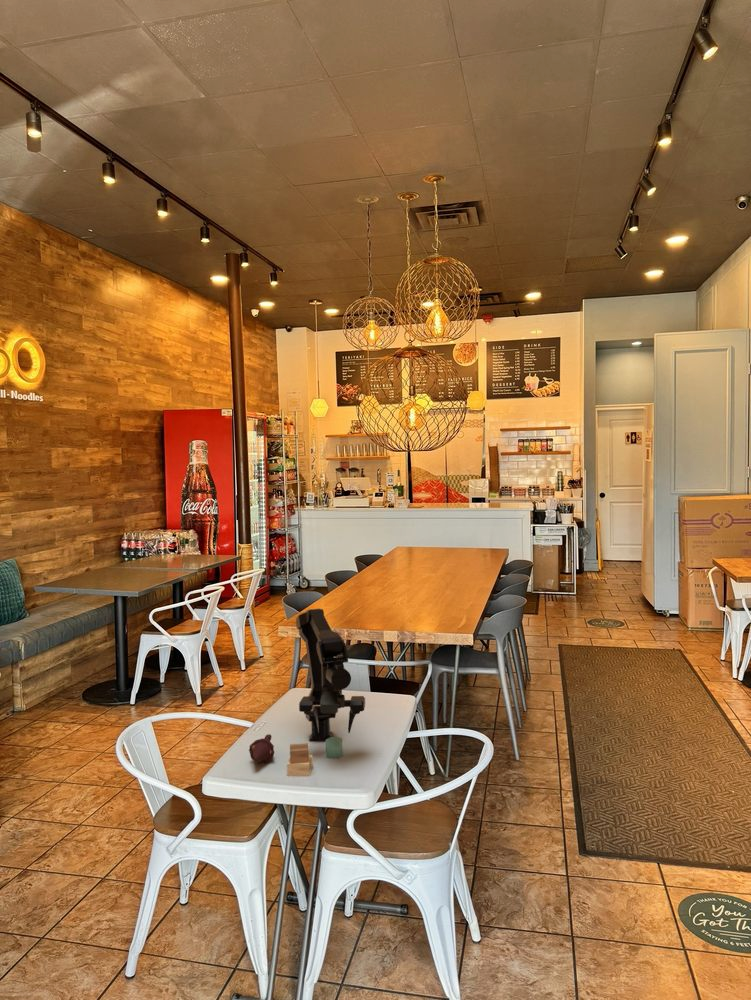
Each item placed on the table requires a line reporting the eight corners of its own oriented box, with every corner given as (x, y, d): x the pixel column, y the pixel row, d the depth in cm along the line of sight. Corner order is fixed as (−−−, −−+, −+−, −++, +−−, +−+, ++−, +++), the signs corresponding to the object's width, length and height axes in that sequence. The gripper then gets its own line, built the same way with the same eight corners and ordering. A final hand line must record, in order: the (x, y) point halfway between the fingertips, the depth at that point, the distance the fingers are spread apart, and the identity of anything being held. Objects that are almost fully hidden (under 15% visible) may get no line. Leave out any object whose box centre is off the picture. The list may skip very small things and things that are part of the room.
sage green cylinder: (327, 752, 207) (326, 737, 207) (343, 752, 206) (343, 737, 206) (325, 758, 202) (324, 743, 202) (341, 758, 202) (341, 743, 201)
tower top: (290, 756, 196) (289, 744, 196) (308, 755, 196) (307, 743, 196) (290, 763, 191) (289, 751, 191) (308, 762, 191) (308, 749, 191)
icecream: (270, 750, 193) (282, 734, 208) (245, 743, 194) (259, 728, 209) (265, 775, 193) (277, 757, 208) (239, 768, 194) (253, 751, 208)
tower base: (291, 767, 197) (291, 755, 197) (312, 767, 197) (312, 755, 197) (287, 776, 191) (286, 763, 191) (309, 776, 191) (308, 763, 191)
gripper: (294, 688, 196) (296, 743, 197) (361, 688, 195) (362, 743, 195) (301, 676, 207) (303, 729, 208) (364, 676, 206) (366, 728, 206)
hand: (333, 732), depth 204 cm, fingers open, 9 cm apart
